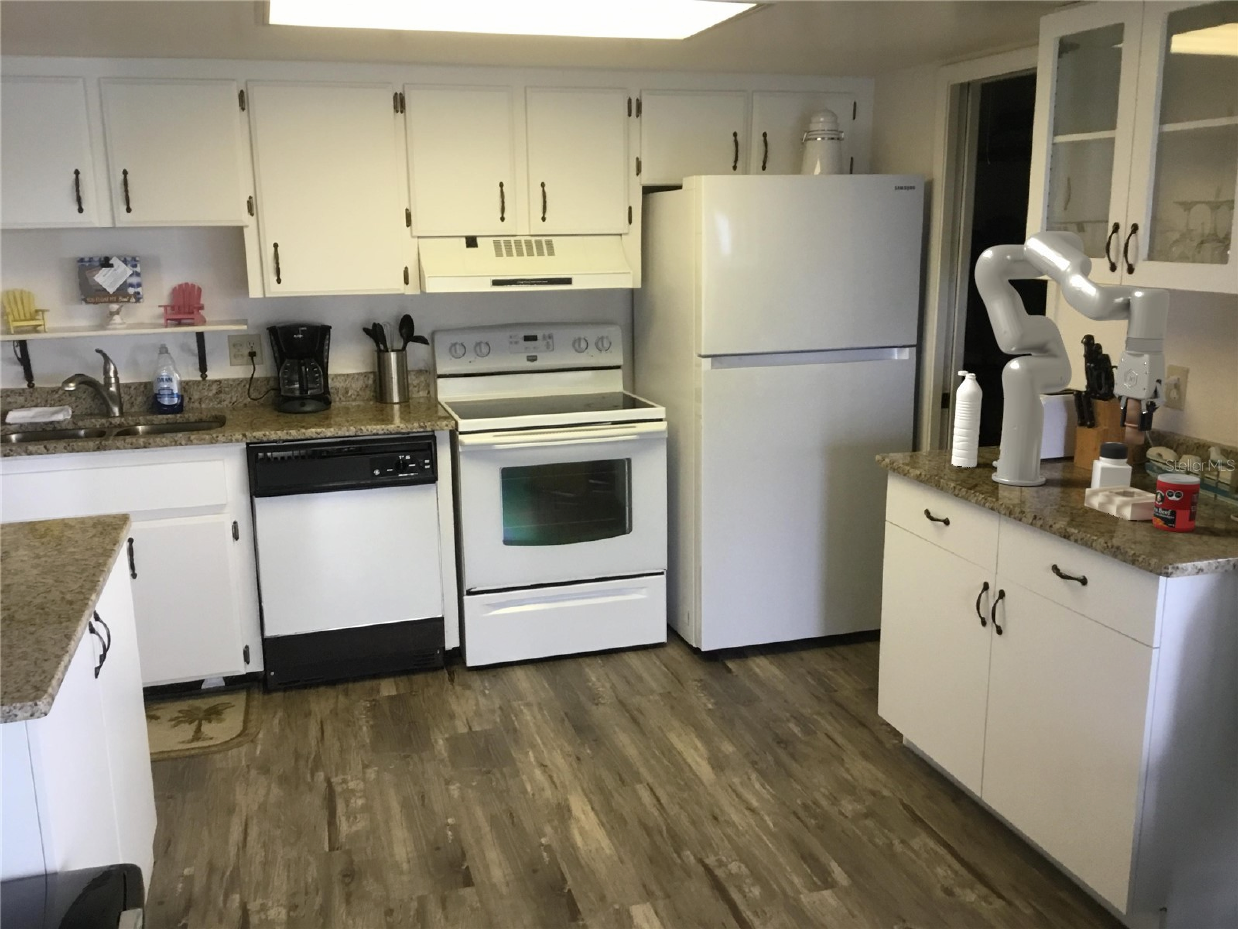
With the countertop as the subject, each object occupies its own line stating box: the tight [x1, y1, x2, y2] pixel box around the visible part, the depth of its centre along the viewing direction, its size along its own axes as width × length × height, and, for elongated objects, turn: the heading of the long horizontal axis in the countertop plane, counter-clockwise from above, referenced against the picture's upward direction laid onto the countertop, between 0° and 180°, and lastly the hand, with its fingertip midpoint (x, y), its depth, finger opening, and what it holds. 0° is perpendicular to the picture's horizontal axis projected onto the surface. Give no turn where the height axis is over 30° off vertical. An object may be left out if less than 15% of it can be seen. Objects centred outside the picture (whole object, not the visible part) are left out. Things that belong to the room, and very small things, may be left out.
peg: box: [1124, 397, 1150, 445], centre depth 227 cm, size 4×4×10 cm
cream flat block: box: [1084, 485, 1156, 521], centre depth 231 cm, size 14×11×4 cm
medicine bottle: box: [1090, 441, 1133, 488], centre depth 248 cm, size 7×7×12 cm
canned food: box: [1152, 473, 1201, 533], centre depth 218 cm, size 8×8×11 cm
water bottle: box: [951, 370, 983, 469], centre depth 277 cm, size 9×6×25 cm
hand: (1135, 427), depth 228 cm, fingers closed on peg, 4 cm apart
